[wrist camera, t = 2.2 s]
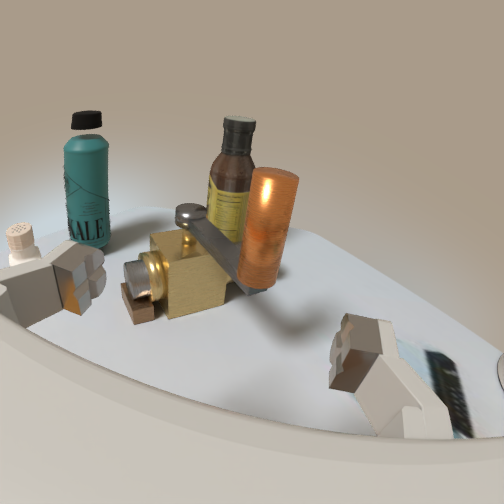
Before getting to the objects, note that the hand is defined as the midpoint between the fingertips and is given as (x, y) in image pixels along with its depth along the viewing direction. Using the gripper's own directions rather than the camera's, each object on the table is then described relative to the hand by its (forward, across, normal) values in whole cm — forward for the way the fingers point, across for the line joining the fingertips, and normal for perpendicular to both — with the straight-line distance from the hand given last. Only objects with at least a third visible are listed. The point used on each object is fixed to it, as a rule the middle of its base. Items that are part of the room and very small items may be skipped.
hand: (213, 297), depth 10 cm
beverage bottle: (+25, -25, -19) cm, 40 cm away
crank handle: (+17, -4, -8) cm, 19 cm away
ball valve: (+22, -7, -18) cm, 29 cm away
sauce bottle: (+33, -7, -18) cm, 38 cm away
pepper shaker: (+12, -25, -19) cm, 33 cm away
